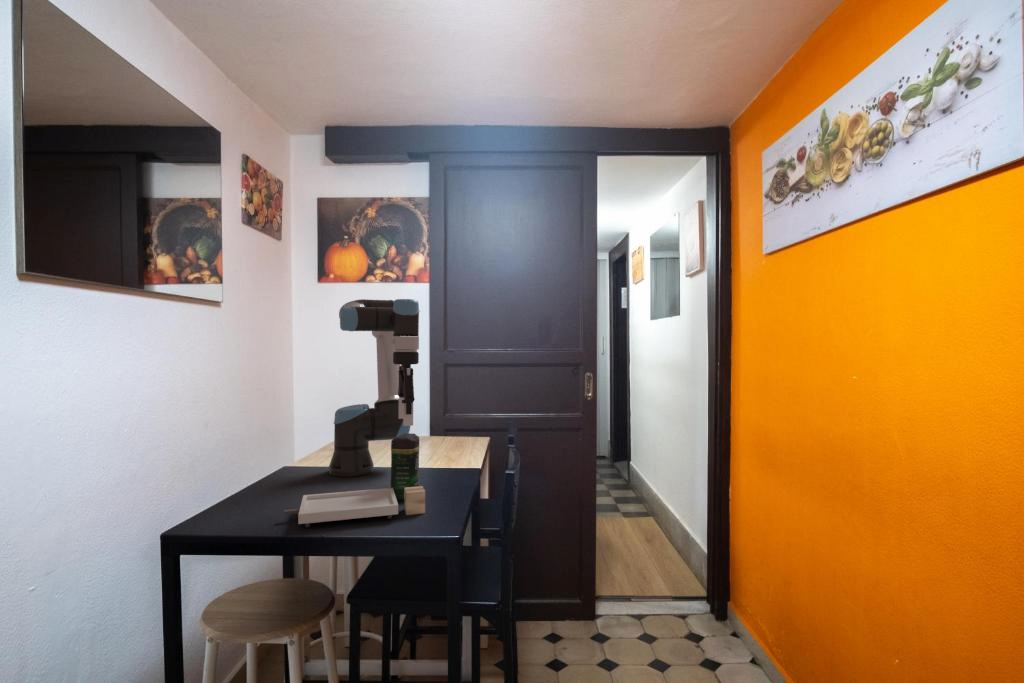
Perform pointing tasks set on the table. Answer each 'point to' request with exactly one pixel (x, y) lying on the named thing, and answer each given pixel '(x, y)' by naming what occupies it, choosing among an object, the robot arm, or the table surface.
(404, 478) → the coffee jar
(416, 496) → the beech block
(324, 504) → the white shallow tray
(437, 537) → the table surface
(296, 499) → the table surface
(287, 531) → the table surface
